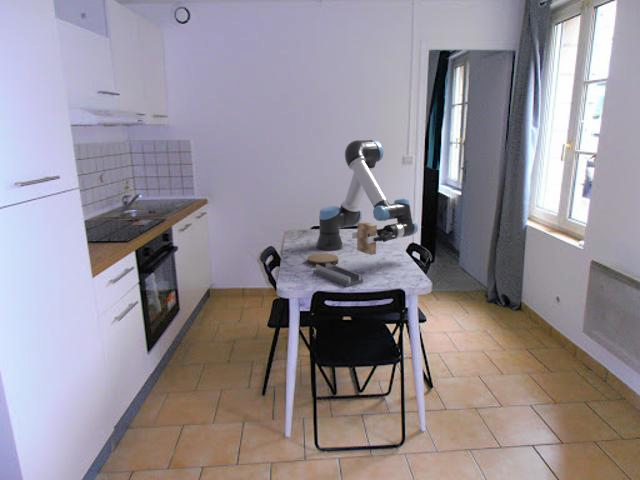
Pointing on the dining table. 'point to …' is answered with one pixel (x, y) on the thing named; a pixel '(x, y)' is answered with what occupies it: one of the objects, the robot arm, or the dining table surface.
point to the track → (338, 275)
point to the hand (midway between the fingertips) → (360, 238)
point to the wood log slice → (322, 259)
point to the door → (362, 234)
